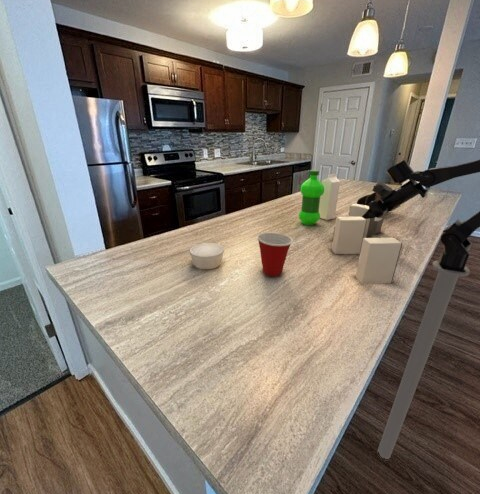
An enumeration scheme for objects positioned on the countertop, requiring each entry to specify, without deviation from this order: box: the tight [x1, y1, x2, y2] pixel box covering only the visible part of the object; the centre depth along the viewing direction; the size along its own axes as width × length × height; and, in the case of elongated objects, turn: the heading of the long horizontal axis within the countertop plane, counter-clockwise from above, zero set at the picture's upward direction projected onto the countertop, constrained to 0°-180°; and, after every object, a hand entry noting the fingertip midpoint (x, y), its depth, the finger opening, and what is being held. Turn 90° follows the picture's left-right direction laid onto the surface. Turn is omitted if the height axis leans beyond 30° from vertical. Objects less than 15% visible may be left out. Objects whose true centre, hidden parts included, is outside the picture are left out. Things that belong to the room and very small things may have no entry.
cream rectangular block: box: [347, 203, 375, 238], centre depth 109 cm, size 9×4×13 cm, turn 43°
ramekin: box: [189, 242, 225, 270], centre depth 87 cm, size 11×11×5 cm
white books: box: [331, 216, 403, 285], centre depth 86 cm, size 9×24×13 cm, turn 3°
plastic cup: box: [256, 231, 294, 277], centre depth 81 cm, size 11×11×12 cm
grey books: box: [332, 217, 384, 242], centre depth 111 cm, size 9×26×6 cm, turn 133°
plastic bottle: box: [298, 169, 324, 226], centre depth 122 cm, size 10×10×25 cm
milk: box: [319, 173, 341, 221], centre depth 131 cm, size 6×6×22 cm
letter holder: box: [356, 186, 393, 206], centre depth 141 cm, size 10×20×14 cm, turn 132°
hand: (366, 216), depth 107 cm, fingers open, 9 cm apart
